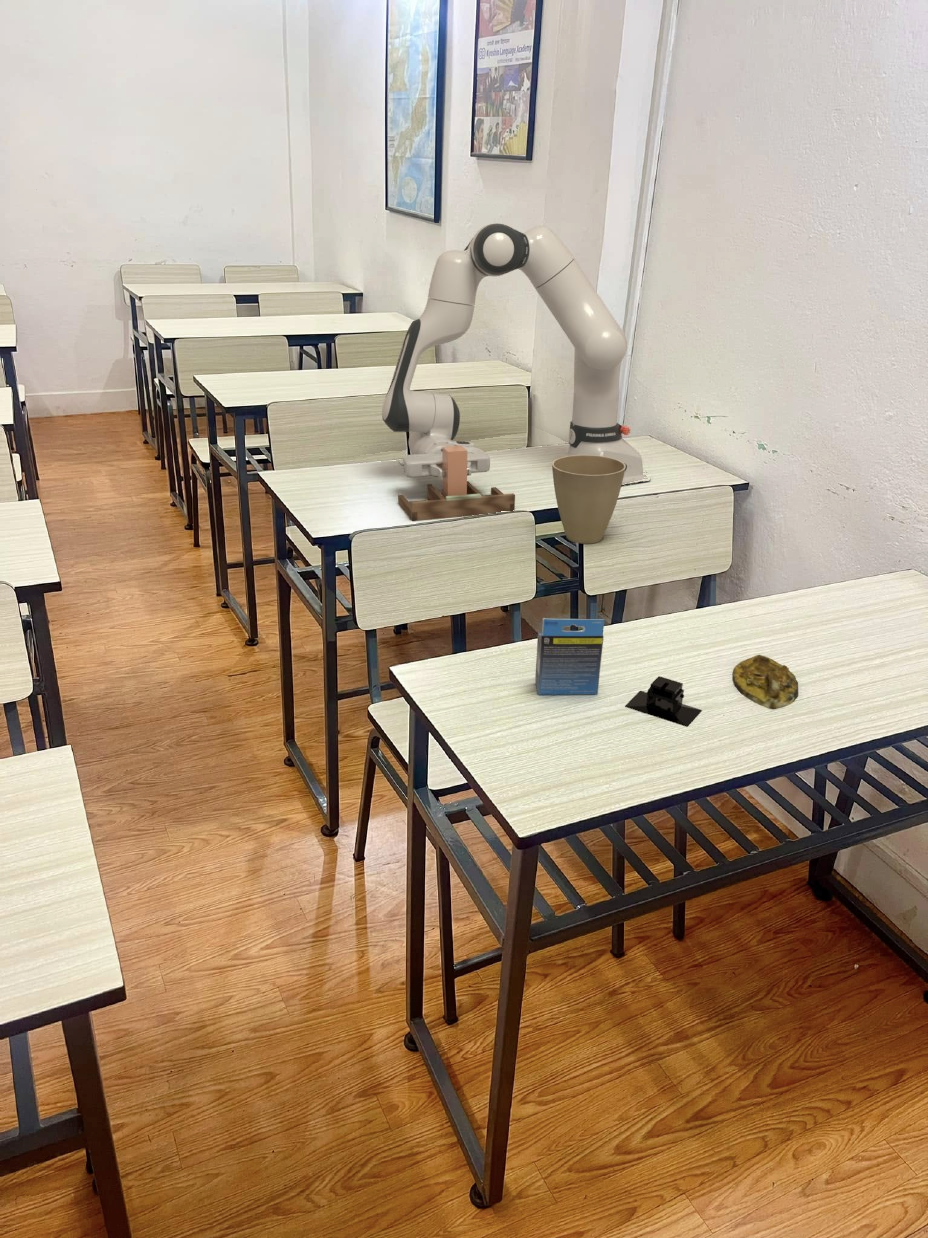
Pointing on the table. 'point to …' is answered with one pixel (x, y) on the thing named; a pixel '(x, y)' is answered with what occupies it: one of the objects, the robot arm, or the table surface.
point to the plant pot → (586, 494)
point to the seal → (765, 682)
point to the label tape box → (569, 657)
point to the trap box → (457, 504)
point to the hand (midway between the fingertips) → (455, 473)
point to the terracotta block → (454, 471)
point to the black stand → (664, 702)
